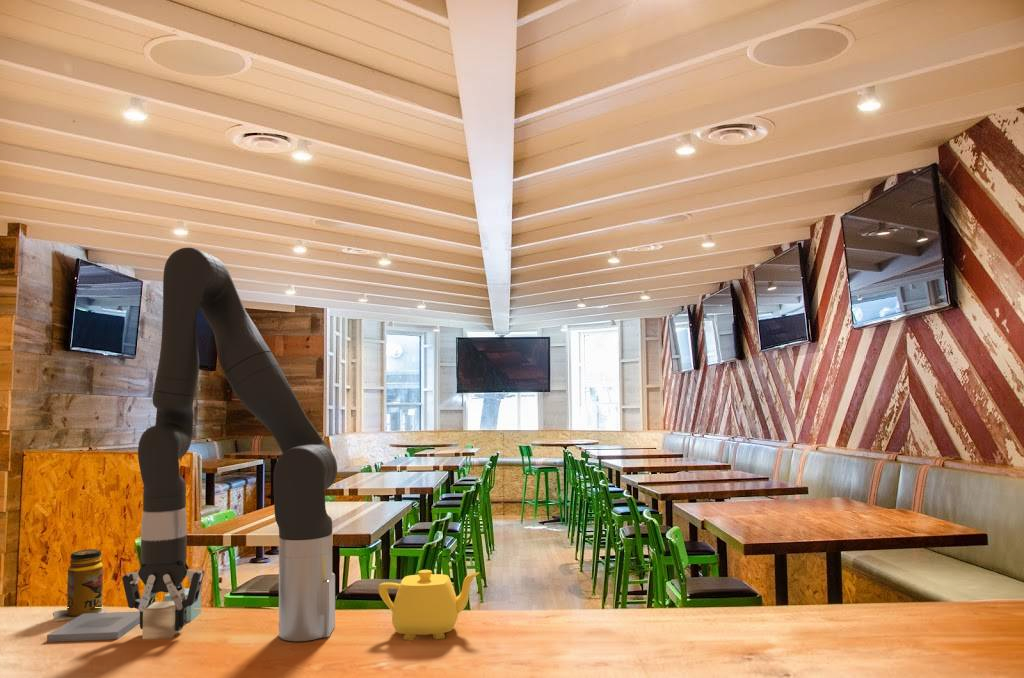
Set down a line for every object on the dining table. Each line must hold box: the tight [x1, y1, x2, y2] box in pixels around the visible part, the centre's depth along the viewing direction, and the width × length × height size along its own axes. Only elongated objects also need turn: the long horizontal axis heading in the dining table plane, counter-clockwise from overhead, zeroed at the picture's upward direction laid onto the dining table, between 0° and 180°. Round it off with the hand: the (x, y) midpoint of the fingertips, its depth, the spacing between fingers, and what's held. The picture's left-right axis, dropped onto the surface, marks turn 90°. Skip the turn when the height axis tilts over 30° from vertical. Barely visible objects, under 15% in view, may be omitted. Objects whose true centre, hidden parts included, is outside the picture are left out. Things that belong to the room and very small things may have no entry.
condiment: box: [53, 548, 106, 623], centre depth 143 cm, size 7×8×12 cm
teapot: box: [377, 569, 480, 641], centre depth 128 cm, size 18×11×11 cm, turn 92°
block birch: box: [142, 600, 184, 640], centre depth 130 cm, size 5×5×5 cm
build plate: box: [46, 610, 140, 643], centre depth 133 cm, size 12×12×1 cm
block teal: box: [163, 587, 202, 623], centre depth 139 cm, size 5×5×5 cm
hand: (163, 629), depth 130 cm, fingers closed on block birch, 5 cm apart
